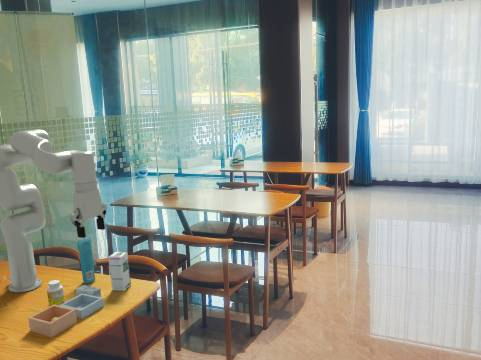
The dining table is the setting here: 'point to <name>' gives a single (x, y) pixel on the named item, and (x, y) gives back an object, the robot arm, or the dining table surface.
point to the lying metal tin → (88, 291)
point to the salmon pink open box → (46, 327)
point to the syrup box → (119, 271)
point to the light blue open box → (84, 305)
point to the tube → (86, 259)
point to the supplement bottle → (55, 293)
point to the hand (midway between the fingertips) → (91, 233)
